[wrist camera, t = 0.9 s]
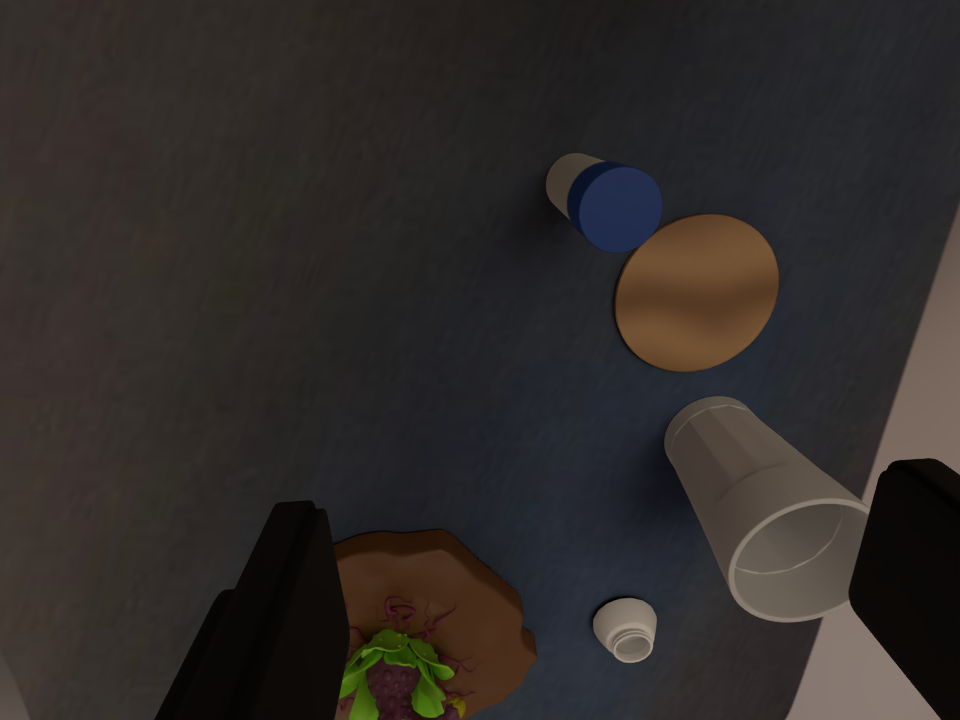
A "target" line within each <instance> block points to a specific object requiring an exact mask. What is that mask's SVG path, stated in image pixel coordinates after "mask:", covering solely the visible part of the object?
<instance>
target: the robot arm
mask: <svg viewBox="0 0 960 720" xmlns="http://www.w3.org/2000/svg"><path fill="white" fill-rule="evenodd" d="M848 595H849V601H850V604H851V606H852V608H853V610H854V612H855V613H856V614H857V616H858V617H859V618H860V619H861V621H862V622H863V623H864V624H865V626H866V627H867V628H868V629H869V630H870V632H871V633H872V634H873V635H874V637H875V638H876V639H877V641H878V642H879V643H880V644H881V645H882V647H883V648H884V649H885V650H886V652H887V653H888V654H889V655H890V657H891V658H892V659H893V660H894V662H895V663H896V664H897V665H898V667H899V668H900V669H901V670H902V671H903V673H904V674H905V675H906V677H907V678H908V679H909V680H910V681H911V683H912V684H913V685H914V686H915V688H916V689H917V690H918V691H919V692H920V694H921V695H922V696H923V698H924V699H925V700H926V701H927V703H928V704H929V705H930V706H931V707H932V709H933V710H934V711H935V712H936V714H937V715H938V716H939V717H940V719H941V720H960V475H959V474H958V473H956V472H955V471H953V470H952V469H951V468H949V467H948V466H946V465H945V464H944V463H942V462H940V461H938V460H936V459H931V458H926V459H911V460H898V461H894V462H892V463H891V464H890V465H889V466H888V468H887V470H886V471H883V472H882V473H881V474H880V476H879V479H878V483H877V486H876V490H875V494H874V497H873V501H872V505H871V508H870V512H869V516H868V519H867V523H866V527H865V530H864V534H863V538H862V541H861V545H860V549H859V552H858V556H857V560H856V563H855V567H854V571H853V574H852V578H851V582H850V585H849V590H848ZM349 645H350V626H349V620H348V615H347V610H346V605H345V600H344V596H343V591H342V586H341V581H340V576H339V571H338V566H337V561H336V556H335V551H334V546H333V541H332V536H331V531H330V526H329V521H328V516H327V513H326V510H325V509H316V507H315V504H314V503H313V501H295V502H281V503H277V504H275V506H274V507H273V509H272V511H271V513H270V515H269V518H268V520H267V522H266V524H265V526H264V528H263V530H262V532H261V534H260V537H259V539H258V541H257V543H256V545H255V547H254V549H253V551H252V554H251V556H250V558H249V560H248V562H247V564H246V566H245V568H244V570H243V573H242V575H241V577H240V579H239V581H238V583H237V585H236V587H235V589H229V590H224V591H222V592H221V593H220V594H219V595H218V596H217V598H216V599H215V601H214V602H213V604H212V606H211V608H210V610H209V612H208V614H207V616H206V618H205V620H204V622H203V624H202V626H201V628H200V630H199V632H198V634H197V636H196V638H195V640H194V642H193V644H192V646H191V648H190V650H189V652H188V654H187V656H186V658H185V660H184V662H183V664H182V666H181V668H180V670H179V672H178V674H177V676H176V678H175V680H174V682H173V684H172V686H171V688H170V690H169V692H168V694H167V696H166V698H165V700H164V702H163V704H162V706H161V708H160V710H159V711H158V713H157V715H156V717H155V719H154V720H335V715H336V710H337V705H338V700H339V695H340V690H341V685H342V680H343V676H344V671H345V666H346V661H347V656H348V651H349Z"/></svg>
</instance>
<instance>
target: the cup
mask: <svg viewBox="0 0 960 720" xmlns="http://www.w3.org/2000/svg"><path fill="white" fill-rule="evenodd" d="M664 447H665V452H666V455H667V457H668V458H669V460H670V462H671V463H672V465H673V467H674V468H675V470H676V472H677V474H678V476H679V479H680V481H681V483H682V485H683V487H684V489H685V491H686V494H687V496H688V498H689V500H690V502H691V504H692V506H693V509H694V511H695V513H696V515H697V517H698V519H699V521H700V524H701V526H702V528H703V530H704V532H705V534H706V536H707V539H708V541H709V543H710V546H711V548H712V550H713V553H714V555H715V557H716V559H717V562H718V564H719V566H720V569H721V571H722V573H723V575H724V578H725V580H726V582H727V584H728V587H729V589H730V591H731V593H732V595H733V597H734V599H735V600H736V601H737V603H738V604H739V605H740V606H741V607H742V608H744V609H745V610H746V611H748V612H749V613H751V614H753V615H755V616H757V617H760V618H763V619H766V620H770V621H777V622H800V621H807V620H812V619H816V618H819V617H822V616H825V615H828V614H831V613H833V612H835V611H837V610H840V609H841V608H843V607H845V606H847V605H848V604H850V601H849V595H848V590H849V585H850V582H851V578H852V574H853V571H854V567H855V563H856V560H857V556H858V552H859V549H860V545H861V541H862V538H863V534H864V530H865V527H866V523H867V519H868V516H869V512H870V508H869V507H868V506H867V505H866V504H864V503H863V502H862V501H861V500H859V499H858V498H857V497H855V496H854V495H853V494H852V493H850V492H849V491H848V490H847V489H845V488H844V487H843V486H842V485H840V484H839V483H838V482H836V481H835V480H834V479H833V478H831V477H830V476H829V475H827V474H826V473H824V472H823V471H822V470H820V469H819V468H818V467H817V466H815V465H814V464H813V463H812V462H811V461H809V460H808V459H807V458H806V457H804V456H803V455H802V454H801V453H800V452H798V451H797V450H796V449H795V448H794V447H792V446H791V445H790V444H789V443H787V442H786V441H785V440H784V439H783V438H781V437H780V436H779V435H778V434H776V433H775V432H774V431H773V430H772V429H770V428H769V427H768V426H767V425H765V424H764V423H763V422H762V421H761V420H759V419H758V418H757V417H756V416H755V415H754V414H753V413H752V412H751V411H750V410H749V409H748V408H747V407H746V406H745V405H744V404H743V403H741V402H740V401H738V400H736V399H733V398H730V397H724V396H712V397H706V398H703V399H700V400H697V401H695V402H693V403H691V404H689V405H687V406H686V407H684V408H683V409H682V410H681V411H679V412H678V413H677V414H676V416H675V417H674V418H673V419H672V421H671V422H670V424H669V426H668V428H667V430H666V433H665V438H664Z"/></svg>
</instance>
